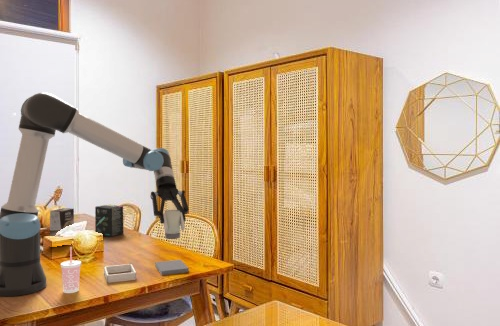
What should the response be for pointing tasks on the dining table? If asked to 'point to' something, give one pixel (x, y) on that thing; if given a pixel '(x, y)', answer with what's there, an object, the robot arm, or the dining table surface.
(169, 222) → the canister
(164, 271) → the plate
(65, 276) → the beverage cup
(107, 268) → the white tray
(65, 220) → the coffee box
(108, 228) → the tampon box
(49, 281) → the dining table surface
